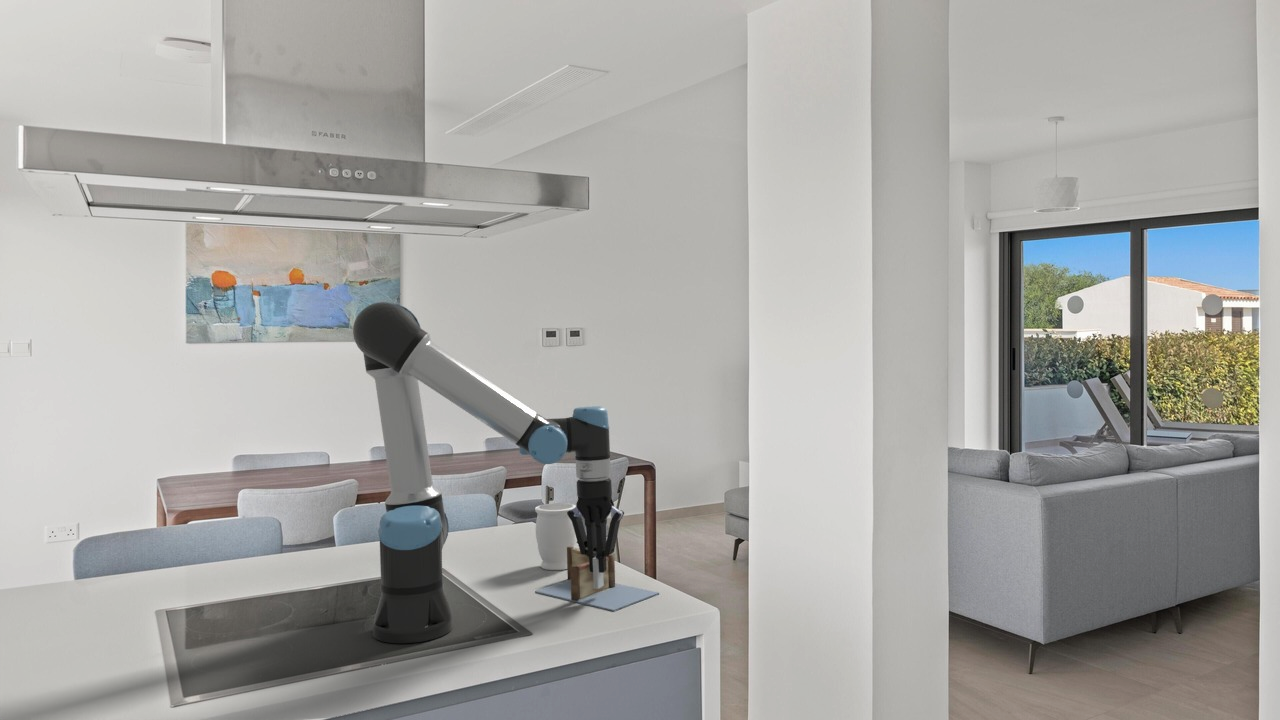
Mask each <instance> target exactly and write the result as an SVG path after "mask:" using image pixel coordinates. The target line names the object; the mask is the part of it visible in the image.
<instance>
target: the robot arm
mask: <svg viewBox="0 0 1280 720" xmlns="http://www.w3.org/2000/svg"><path fill="white" fill-rule="evenodd" d="M352 334H353V340H354V342H355V345H356V346H357V348H358V349H359V350H360V351H361V352H362V353H363V360H364V366H365V372H366V374H368V375H369V376H370V377H372V378H373V379H374V383H375V389H376V395H377V396H376V397H377V402H378V410H379V417H380V423H381V424H380V425H381V431H382V438H383V445H384V446H383V447H384V451H385V458H386V466H387V472H388V479H389V486H390V494H389V495H388V497H387V498H386V499H385V501H384V504H385V510H386V512H385V513H384V514H382V516H381V517H380V519H379V528H378V531H377V532H378V533H377V534H378V538H379V558H380V559H379V561H380V563H379V564H380V586H381V587H380V588H381V589H380V598H379V601H378V604H377V605H378V606H377V607H376V611H375V615H374V619H373V622H372V636H373V638H374V639H376V640H378V641H380V642H383V643H388V644H412V643H420V642H427V641H430V640H434V639H438V638H440V637H442V636H445V635H447V634H448V633H450V632H451V631H452V630H453V627H454V620H453V617H454V616H453V612H452V610H451V608H450V604H449V602H448V599H447V596H446V594H445V591H444V586H443V548H444V546H445V544H446V541H447V539H448V535H449V530H450V529H449V528H450V527H449V526H450V524H449V519H448V517H447V513H445V509H444V507H445V506H444V503H443V502H444V500H443V495H442V491H441V490H440V489H439V488H437V487H436V486H435V485H433V477H432V469H431V462H430V456H429V455H430V454H429V448H428V441H427V435H426V428H425V420H424V419H425V418H424V414H423V407H422V399H421V398H422V397H421V392H420V386H419V385H420V384H419V382H420V383H422V384H424V385H425V386H427V387H428V388H430V389H432V390H433V392H436V393H437V394H439V395H441V396H442V397H444V398H445V399H447V400H448V401H450V402H451V403H452V404H454V405H456V406H457V407H459V408H460V409H462V410H463V411H465V412H466V413H468V414H469V415H470V416H472V417H474V418H475V419H477V420H478V421H480V422H481V423H483V424H484V425H485V426H487V427H488V428H490V429H492V430H493V431H495V432H496V433H498V434H500V435H501V436H502V437H504V438H505V439H507V440H509V441H510V442H512V443H513V444H515V445H516V446H517V447H518V449H519V450H518V451H519V453H520V454H521V455H523V456H531V457H532V459H533V460H535V461H536V462H538V463H540V464H543V465H553V464H555V463H557V462H559V461H560V460H562V459H563V457H565V455H566V453H574V454H575V455H574V456H575V472H576V473H575V475H576V478H577V481H576V496H577V501H576V504H575V505H576V507H575V508H573V509H572V510H570V511H568V512H567V515H568V516H569V518H570V520H571V521H572V524H573V528H574V531H575V535H576V538H577V542H576V543H577V544H578V549H580V552H581V554H585V555H587V556H588V557H589V567H590V572H593V578H594V589H599V588H601V587H602V586H604V578H603V572H605V571H606V569H607V567H606V556H608V555H610V554H614V552H615V549H616V544H617V539H618V533H619V528H620V523H621V521H622V519H623V517H624V515H625V512H624V510H619V509H618V508H616V507H615V504H614V501H613V499H612V497H613V492H612V491H613V490H612V479H611V478H610V477H611V475H612V471H611V469H612V468H611V452H610V451H611V450H610V448H611V447H610V445H611V443H610V427H609V417H608V410H607V409H606V408H605V407H604V406H584V407H583V406H581V407H580V406H579V407H576V408H573V411H572V412H573V413H572V416H570V417H560V418H546V417H544V416H542V415H540V414H538V413H537V412H536V411H535V410H533V409H532V408H530V407H528V406H527V405H525V404H524V403H523V402H521V401H519V400H518V399H517V398H515V397H514V396H512V395H511V394H510V393H508V392H507V391H504V389H502V388H500V387H499V386H498V385H496V384H494V383H493V382H492V381H490V380H488V379H487V378H486V377H484V376H483V375H481V374H479V372H477V371H475V370H474V369H473V368H471V367H469V366H468V365H467V364H465V363H463V362H462V361H460V360H459V359H458V358H456V357H454V356H453V355H452V354H450V353H449V352H447V351H446V350H445V349H443V348H441V347H440V346H438V345H437V344H436V343H434V342H433V341H432V340H431V336H430V333H428V332H427V331H426V330H424V329H423V328H421V324H420V322H419V321H418V318H417V317H416V315H415V314H414V313H413V312H412V311H411V310H410V309H408V308H407V307H405V306H402V305H399V304H396V303H391V302H386V301H383V302H382V301H380V302H379V301H378V302H374V303H371V304H369V305H367V306H366V307H365V308H363V309H362V310H361V311H360V312H359V313H358V314H357V316H356V318H355V320H354V323H353V325H352ZM581 515H582V516H581ZM609 516H610V518H611V520H610V522H609V527H608V533H607V524H608V523H607V522H608V520H607V519H608V518H609ZM582 517H583V519H584V522H583V519H582ZM584 525H585V526H584Z"/></svg>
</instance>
